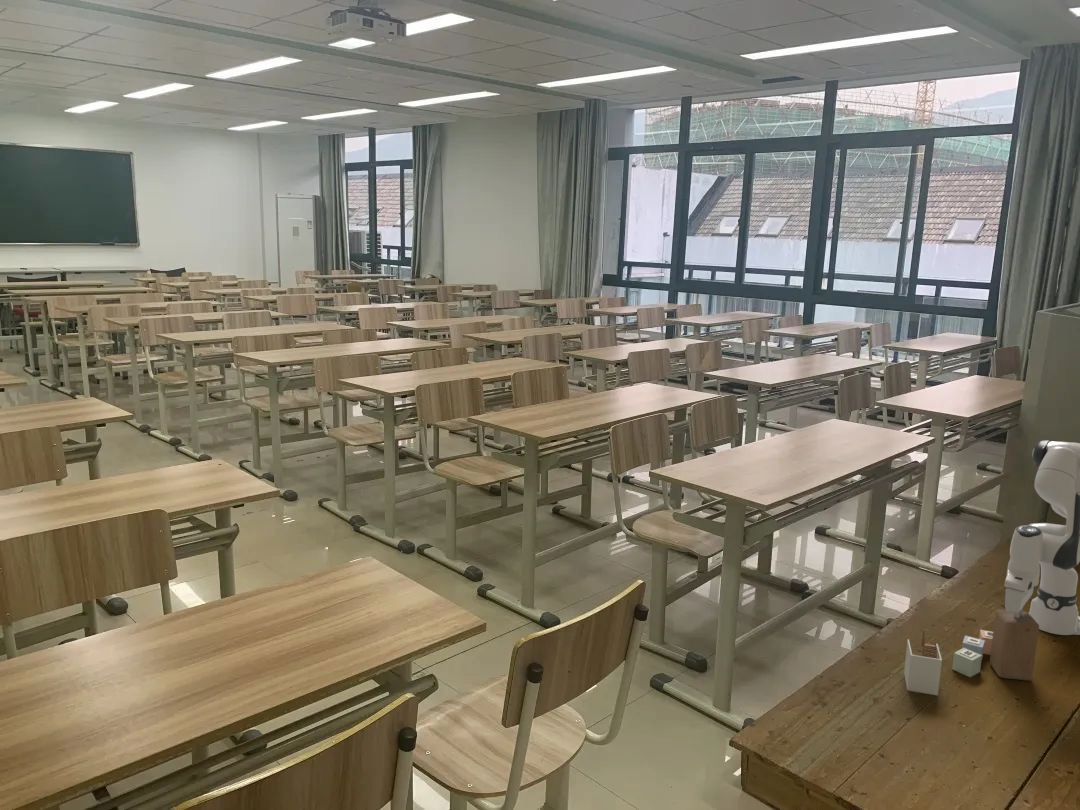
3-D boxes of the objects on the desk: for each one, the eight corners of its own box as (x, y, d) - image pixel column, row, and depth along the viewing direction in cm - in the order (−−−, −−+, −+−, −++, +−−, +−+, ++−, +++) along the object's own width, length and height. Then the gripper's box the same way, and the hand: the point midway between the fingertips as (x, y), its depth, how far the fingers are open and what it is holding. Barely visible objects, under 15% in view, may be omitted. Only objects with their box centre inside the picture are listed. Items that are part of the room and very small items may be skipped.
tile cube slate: (963, 651, 272) (965, 634, 271) (982, 656, 269) (985, 639, 267) (960, 658, 267) (962, 641, 266) (980, 663, 264) (982, 646, 263)
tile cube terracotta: (978, 645, 276) (980, 628, 275) (997, 648, 274) (999, 631, 273) (980, 653, 271) (982, 635, 270) (999, 656, 269) (1002, 639, 267)
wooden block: (1032, 682, 253) (1040, 624, 249) (998, 678, 255) (1006, 621, 251) (1020, 666, 262) (1028, 610, 258) (988, 663, 264) (995, 608, 260)
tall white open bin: (933, 679, 255) (938, 632, 252) (937, 696, 245) (943, 648, 242) (903, 674, 258) (908, 627, 255) (907, 691, 248) (912, 643, 245)
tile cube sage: (961, 664, 264) (964, 646, 262) (979, 671, 259) (982, 653, 257) (952, 669, 260) (954, 651, 259) (970, 677, 256) (972, 659, 254)
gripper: (1019, 564, 261) (1014, 602, 264) (1003, 582, 247) (998, 623, 249) (1041, 569, 257) (1036, 608, 260) (1026, 588, 243) (1020, 630, 245)
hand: (1017, 616), depth 255 cm, fingers closed, pressing on wooden block
